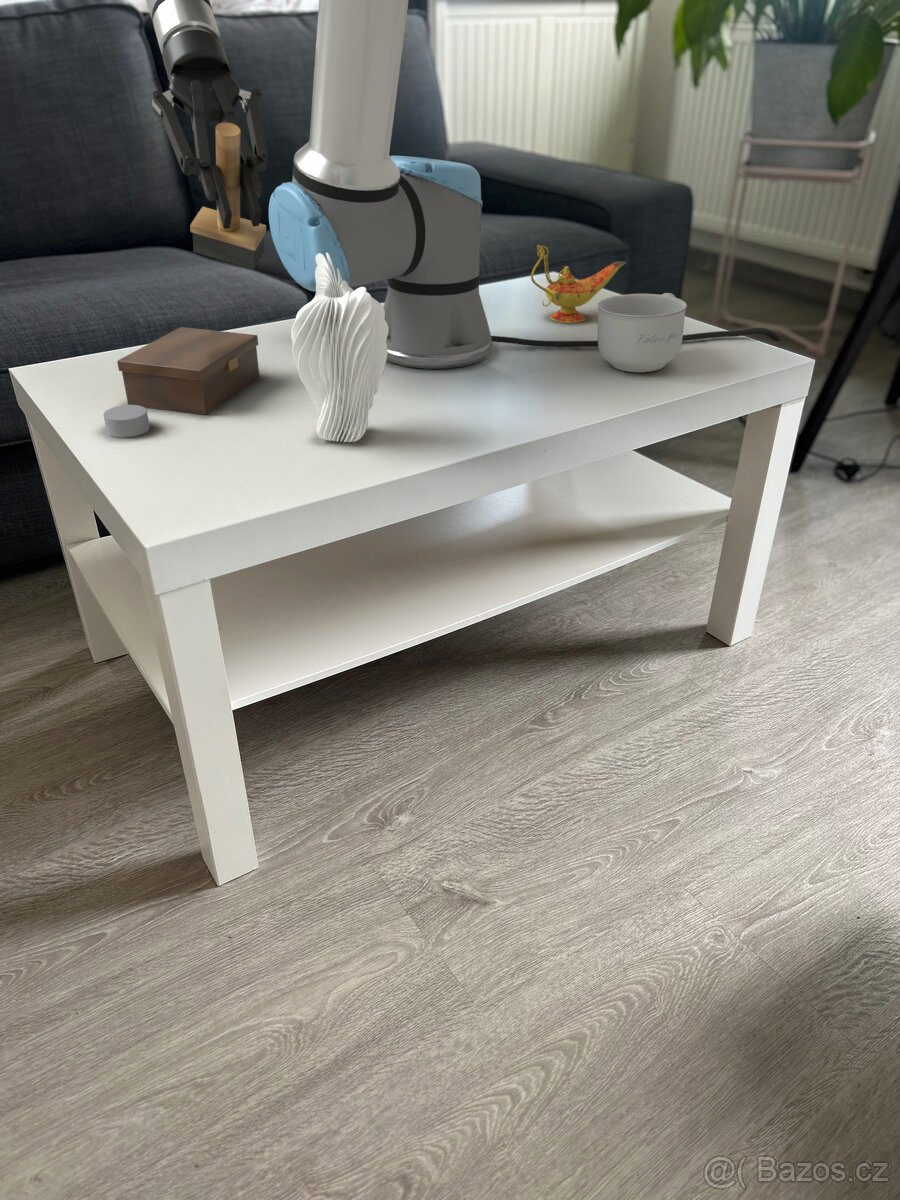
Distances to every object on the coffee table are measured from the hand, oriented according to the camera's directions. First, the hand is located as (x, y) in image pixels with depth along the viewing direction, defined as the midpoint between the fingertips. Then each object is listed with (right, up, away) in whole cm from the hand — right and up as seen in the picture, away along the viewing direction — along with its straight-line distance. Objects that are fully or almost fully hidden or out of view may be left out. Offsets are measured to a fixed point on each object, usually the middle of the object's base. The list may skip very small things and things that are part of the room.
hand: (242, 220), depth 110 cm
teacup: (+49, -15, +10) cm, 52 cm away
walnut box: (-5, -20, 0) cm, 21 cm away
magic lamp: (+43, -3, +27) cm, 51 cm away
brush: (-4, 0, +10) cm, 11 cm away
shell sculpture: (+14, -28, -11) cm, 33 cm away
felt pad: (-10, -25, -12) cm, 29 cm away
